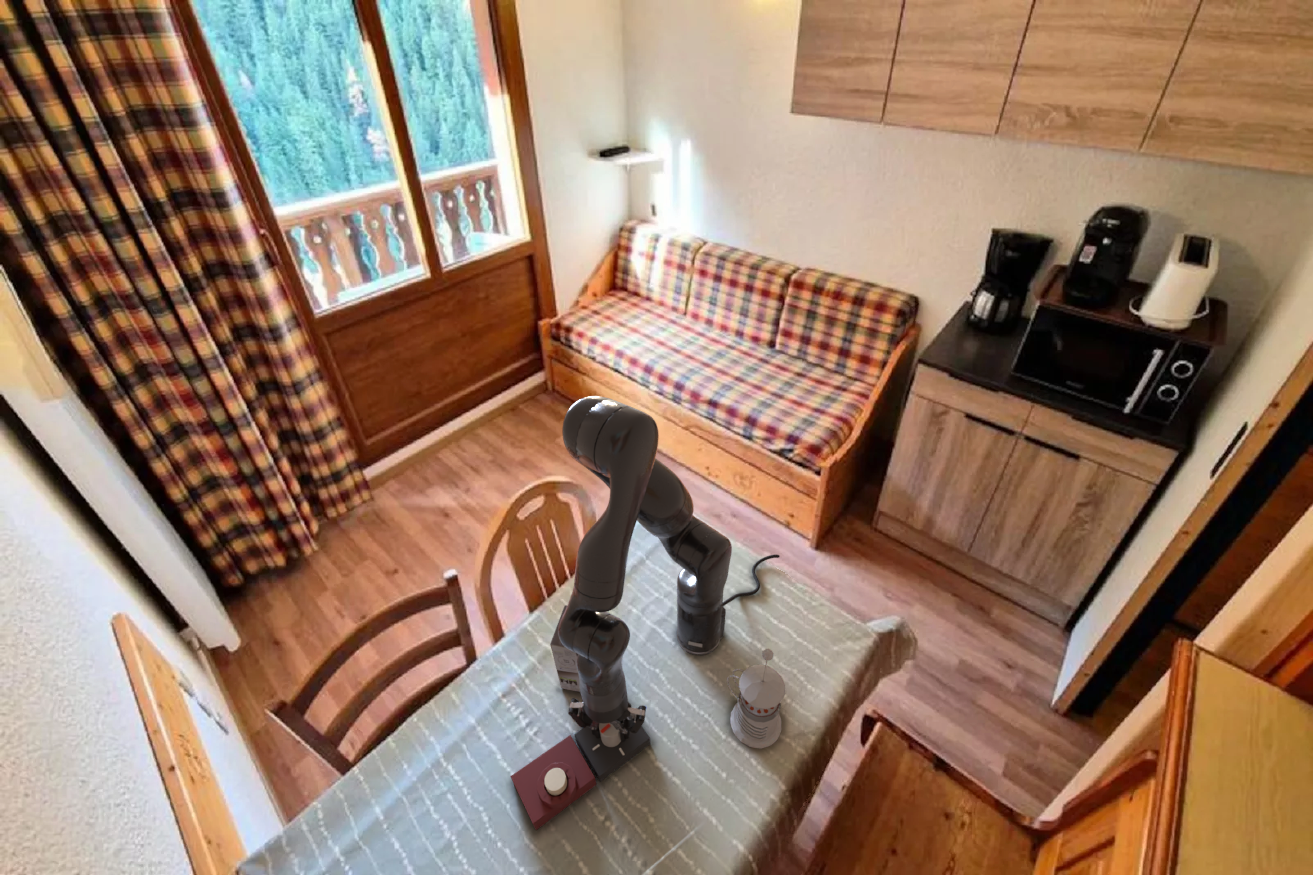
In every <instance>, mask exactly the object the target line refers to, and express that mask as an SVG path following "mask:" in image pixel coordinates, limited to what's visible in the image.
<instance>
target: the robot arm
mask: <svg viewBox="0 0 1313 875" xmlns="http://www.w3.org/2000/svg"><path fill="white" fill-rule="evenodd" d="M561 429H562V441H563V445H564V448H565V450H566V451H567V453H568V455H569V457H571V458H572V460H574V461H575V462H577V463H579V464H580V465H581V466H583V467H584V468H586V469H587V470H588V471H589V472H591V473H592V474H594V475H595V476H596V477H597V478H599V480H601V481H602V482H603V483H604V484H605V485H606V486H607V488H608V489H609V499H608V504H607V506H606V508H605V510H604V511H603V513H602V514H601V515H600V516H599V518H598V519H597V520H596V521H595V522H594V523H593V524H592V525H591V527H590V528H589V529H588V530H587V532H586V533H585V534H584V536H583V537H582V539H581V541H580V543H579V545H578V549H577V552H576V559H575V568H574V579H573V580H574V582H573V588H572V591H571V594H570V598H569V600H568V603H567V608H566V610H565V612H564V614H563V616H562V618H561V621H560V623H559V627H558V634H559V638H560V641H561V643H562V644H563V645H564V646H565V647H566V648H567V649H569V650H571V651H573V652H575V653H577V654H578V656H577V671H578V675H579V680H580V681H579V686H580V692H579V694H580V697H581V700H582V701H579V700H578V699H577V698H575V697H574V698H571V699H570V704H569V708H568V715H569V716H570V718H572V720H573V721H574V722H575V723H576V724H577V725H578V726H579V727H580V728H581V729H582V728H586V726H589V727H590V730H592V734H593V735H595V736H596V738H598V739H600V736H601V735H600V730H599V724H600V723H603V724H605V723H610V724H612V725H613V726H614V727H615V729H616V730H619V731H620V737H621V741H625V739H628V738H629V733H630V732H631V733H637V732H638V730H639V729H640V727H641V726H642V727H643V725H644V723H645V720H646V712H647V706H646V705H638V707H633V706H632V704H631V703H630V702H629V698H628V689H627V683H626V676H625V671H624V670H623V658H624V654H625V653H626V651H627V648H628V646H629V643H630V640H631V632H630V629H629V627H628V625H627V623H626V622H625V621H624V620H623V619H622V618H620V617H618V616H617V615H614V614H611V613H610V611H612V610H614V609H616V608H617V607H618V606H619V604H620V603H621V601H622V598H623V596H624V595H623V594H624V590H625V580H626V572H627V571H626V570H627V564H628V556H629V550H630V546H631V541H632V538H633V534H634V530H635V527H636V525H637V522H638V523H639V524H640V525H641V527H643V528H644V529H645V530H646V531H647V532H648V533H649V534H651V535H652V536H653V537H656V538H658V540H659V542H660V543H661V545H662V546H663V549H664V550H665V552H666V553H667V555H668V556H669V558H670V559H671V560H672V561H673V562H675V564H677V565H678V566H679V567H681V568H682V569H680V571H679V573H678V574H677V579H676V617H677V618H676V619H677V620H676V622H677V624H676V627H677V629H676V639H677V642H678V644H679V646H680V648H682V649H683V651H685V652H686V653H688V654H690V655H693V656H697V657H698V656H700V657H701V656H706V655H709V654H711V653H712V652H713V651H715V650H716V649H717V648H718V647H719V644H720V642H721V639H723V638H724V637H725V626H726V615H727V614H726V612H727V610H726V608H725V606H726V605H728V604H729V603H731V602H732V601H734V600H735V599H737V598H740V597H748V596H752V595H756V594H757V593H758V592H759V591H760V588H761V582H760V579H759V577H758V575H757V574H756V569H757V567H758V566H759V565H760V564H762V563H763V562H766V561H767V560H771V559H779V558H780V557H781V555H779V554H769V555H767V556H764V557H762V558H760V559H758V560H756V562H755V563H754V564H753V566H752V567H751V574H752V577H753V579H754V580H755V583H756V587H755V589H753V590H751V591H750V590H749V591H746V592H745V591H744V592H739V593H736V594H733V595H732V596H730V597H728V598H727V599H726V600H724V590H725V587H726V584H727V580H728V576H729V571H730V564H731V558H732V552H733V546H732V542H731V540H730V539H729V538H728V537H727V536H725V534H722V533H721V532H719V531H718V530H716V529H715V528H713V527H712V526H710V525H709V524H707V523H706V522H704V520H702V519H699V518H698V517H696V516H695V515H694V512H695V510H694V509H695V508H694V501H693V498H692V496H691V494H690V493H691V492H690V491H689V490H688V489H687V487H686V485H685V484H684V483H683V481H682V480H681V478H680V477H679V476H678V475H677V474H676V473H675V472H674V471H673V470H672V469H671V468H670V467H669V466H667V465H666V464H665V463H663V462H662V461H660V459H657V458H656V457H657V452H658V447H659V439H660V438H659V437H660V436H659V427H658V424H657V422H656V420H655V419H654V418H653V417H652V416H651V415H649V414H648V413H646V412H645V411H643V410H640V409H638V408H635V407H633V406H630V405H628V404H625V403H623V402H620V401H617V400H615V399H612V398H609V397H605V396H601V395H589V396H585V397H582V398H580V399H578V400H576V401H575V402H574V403H572V405H571V406H570V407H569V408H568V410H567V411H566V413H565V416H564V419H563V422H562V428H561ZM630 715H631V716H632V720H629V718H628V717H629V716H630Z"/></svg>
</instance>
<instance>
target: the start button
mask: <svg viewBox="0 0 1313 875" xmlns="http://www.w3.org/2000/svg"><path fill="white" fill-rule="evenodd" d="M545 786H546V789H547V791H548V792H549V793H550V794H551V795H560V794H561V793H563V792H564V790H565V789H566V787H567V778H566V775H565V772H564V771H563V770H562V769H560V768H553V769H551V770H550V771H549V772H548V773H547V774H546V776H545Z"/></svg>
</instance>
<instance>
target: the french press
mask: <svg viewBox="0 0 1313 875" xmlns="http://www.w3.org/2000/svg"><path fill="white" fill-rule="evenodd" d="M761 657H762V659H763V660H764V661H765V664H760V663H759V664H753V665H749V666H748V667H746V669H742V668H735V669H733V671H732V674H731V675H729V676H728V677H727V679H726V683H727V686H728V689H729V691H730V692H731V694H732V695H733V696H734V698H736V699H737V703H735V704H734V706H733V708H732V710H731V711H730V719H729V720H730V726H731V729H732V732H733V734H734V735H735V737H736V738H737V739H738V740H739V742H741V743H742V744H744V745H746V746H747V747H749V748H755V749H764V748H768V747H770V746H772V745H773V744H774V743H775V742H776V741H777V740H779V738H780V735H781V732H782V718H781V715H780V711H781V704H782V701H783V699H784V697H785V696H786V683H785V681H784V679H783V677H782V675H781V674H780V673H779V672H778V671H777V670H776V669H775V668H773V667H771V666H769V665H767V664H768V662H769V661H772V660H773V658H774V652H773V650H772V649H770V648H765V649H763V650H762V652H761ZM737 671H740V672H742V673H741V675H740V676H737V675H735V673H736V672H737ZM730 678H732V679H733V682H734V684H735V685H736V687H737V688H738V689H739V693H738V695H736V693H735V692H734V691H733V689H732V688H731V686H730V682H729V681H730ZM736 679H738V680H739V681H738V682H739V684H738V682H736Z"/></svg>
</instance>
